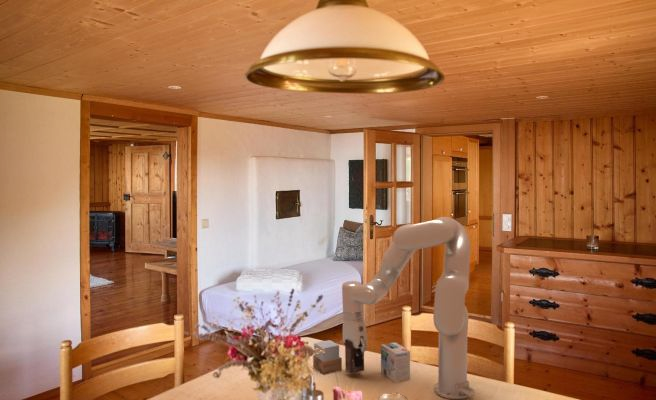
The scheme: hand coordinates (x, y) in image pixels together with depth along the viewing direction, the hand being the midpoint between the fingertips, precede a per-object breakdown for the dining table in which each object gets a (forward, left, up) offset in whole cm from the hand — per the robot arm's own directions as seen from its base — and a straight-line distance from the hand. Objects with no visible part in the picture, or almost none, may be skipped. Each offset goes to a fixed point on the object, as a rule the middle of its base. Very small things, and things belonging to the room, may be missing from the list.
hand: (354, 363), depth 181 cm
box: (0, 0, -3) cm, 3 cm away
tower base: (+11, +6, -5) cm, 13 cm away
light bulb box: (-8, -12, -5) cm, 16 cm away
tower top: (+11, +6, 0) cm, 12 cm away
